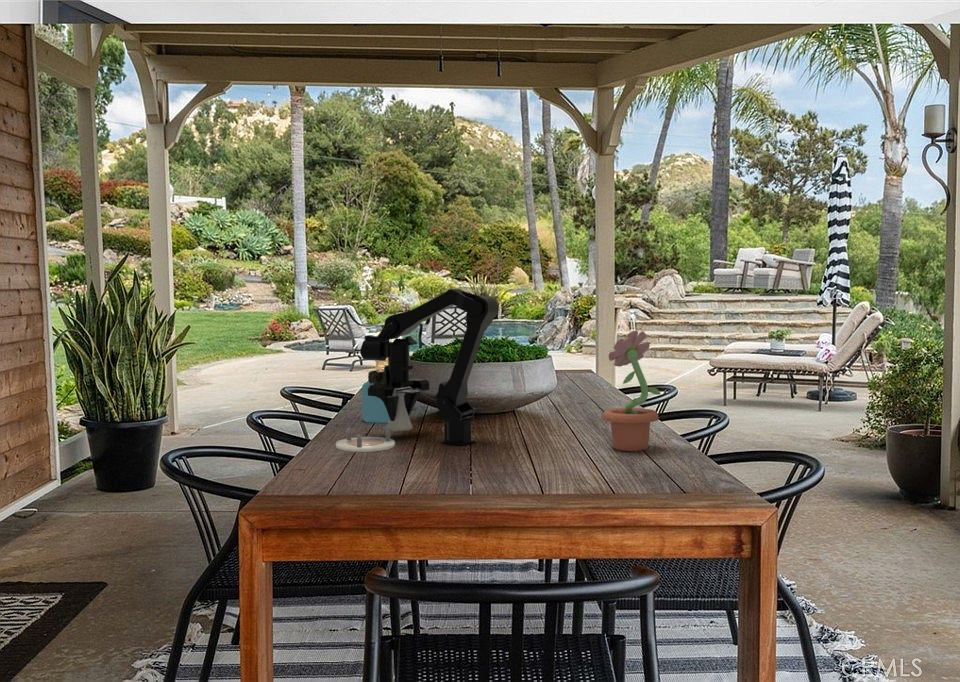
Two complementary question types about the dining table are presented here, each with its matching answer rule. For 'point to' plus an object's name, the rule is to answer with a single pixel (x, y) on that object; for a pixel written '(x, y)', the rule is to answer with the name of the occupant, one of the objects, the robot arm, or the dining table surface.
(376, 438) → the pin cradle
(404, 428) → the flask
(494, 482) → the dining table surface
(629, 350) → the decorative flower
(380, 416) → the blue rounded slab
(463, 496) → the dining table surface
